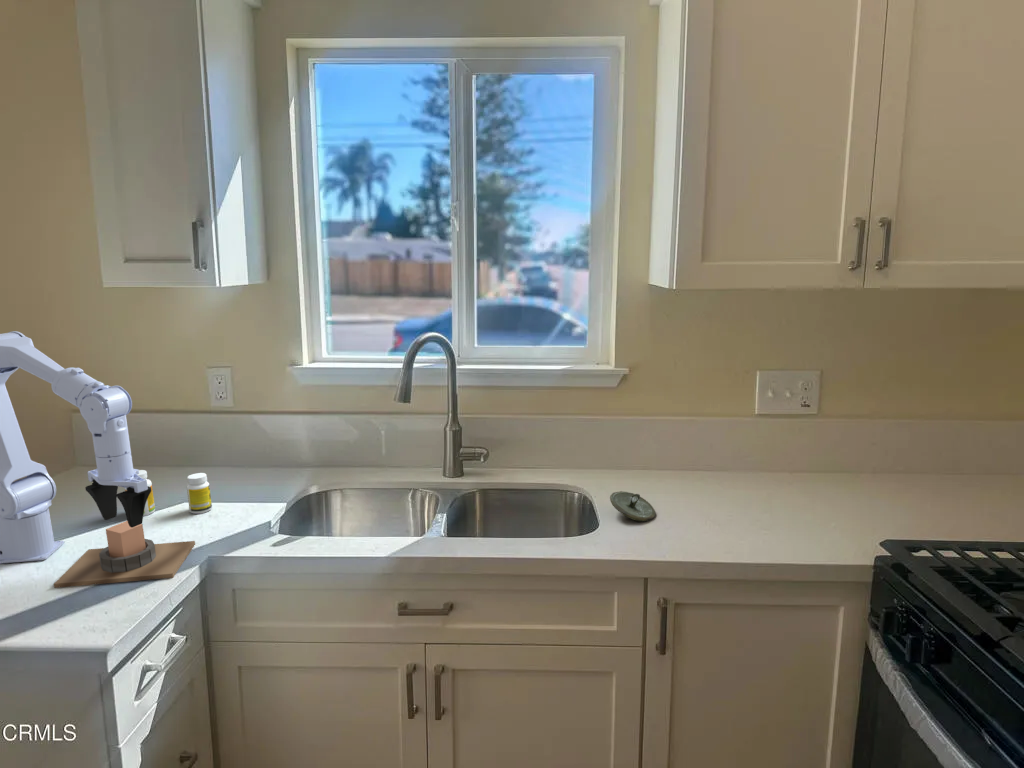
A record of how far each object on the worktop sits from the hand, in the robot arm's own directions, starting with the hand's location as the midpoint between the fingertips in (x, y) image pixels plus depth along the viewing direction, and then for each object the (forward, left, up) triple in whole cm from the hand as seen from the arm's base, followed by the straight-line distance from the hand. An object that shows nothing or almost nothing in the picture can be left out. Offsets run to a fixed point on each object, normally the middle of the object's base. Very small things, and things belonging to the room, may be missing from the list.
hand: (123, 521), depth 127 cm
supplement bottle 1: (-7, +27, -9) cm, 29 cm away
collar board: (0, 0, -9) cm, 9 cm away
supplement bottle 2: (+6, +26, -9) cm, 28 cm away
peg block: (0, 0, -8) cm, 8 cm away
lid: (+102, +4, -9) cm, 103 cm away
